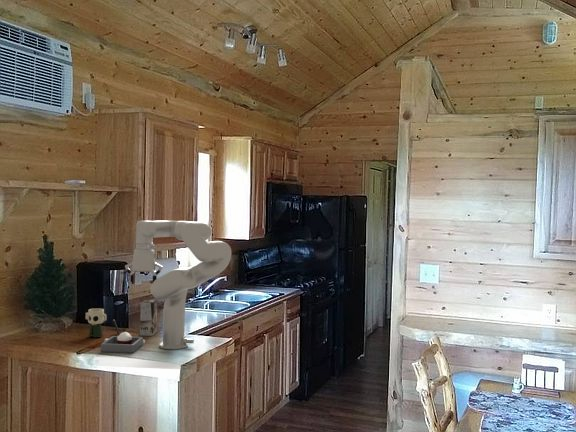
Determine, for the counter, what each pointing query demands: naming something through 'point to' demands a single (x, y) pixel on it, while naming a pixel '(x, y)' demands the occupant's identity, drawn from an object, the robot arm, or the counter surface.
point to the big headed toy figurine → (96, 321)
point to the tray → (121, 345)
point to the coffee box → (148, 318)
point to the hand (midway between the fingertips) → (143, 283)
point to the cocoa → (123, 336)
